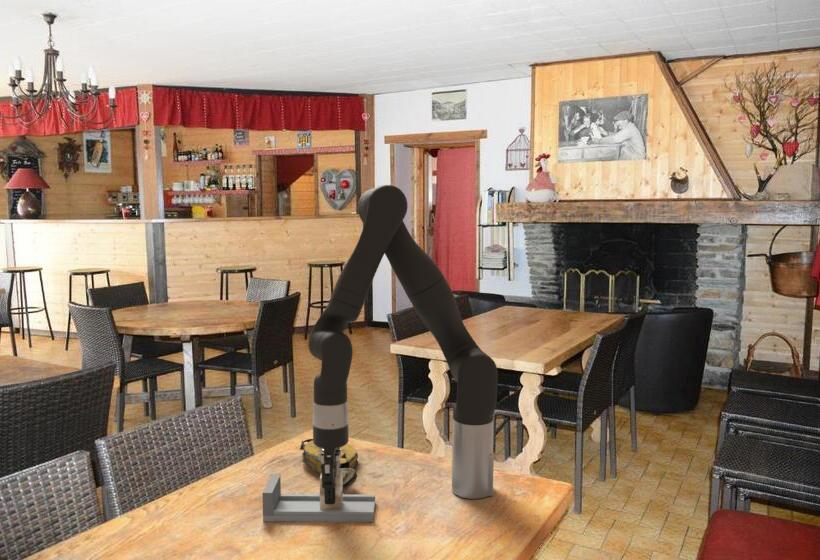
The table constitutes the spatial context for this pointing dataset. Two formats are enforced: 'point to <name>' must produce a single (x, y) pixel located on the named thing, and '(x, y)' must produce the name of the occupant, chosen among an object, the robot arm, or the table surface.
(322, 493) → the block
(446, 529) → the table surface
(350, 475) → the pulley block
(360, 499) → the rail
